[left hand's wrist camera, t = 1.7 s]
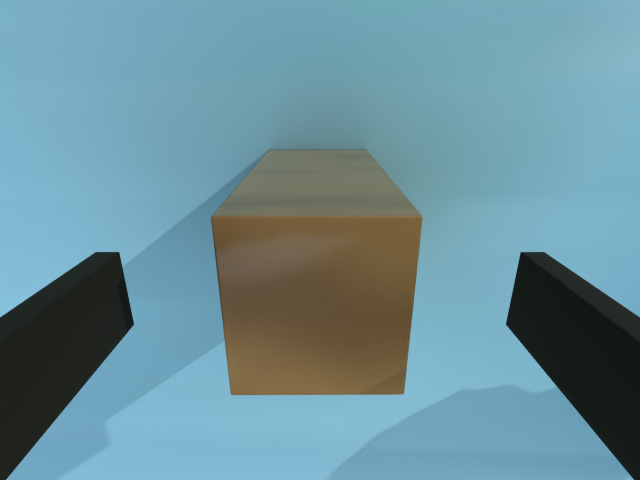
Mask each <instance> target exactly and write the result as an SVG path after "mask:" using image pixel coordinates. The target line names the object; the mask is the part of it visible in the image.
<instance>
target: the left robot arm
mask: <svg viewBox="0 0 640 480" xmlns="http://www.w3.org/2000/svg"><path fill="white" fill-rule="evenodd" d="M133 325H134V322H133V317H132V312H131V307H130V303H129V298H128V293H127V288H126V283H125V278H124V273H123V268H122V263H121V259H120V254H119V252H95V253H94V254H92V255H91V256H90V257H88V258H87V259H85V260H84V261H82V262H81V263H79V264H78V265H76V266H75V267H73V268H72V269H70V270H69V271H68V272H66V273H65V274H63V275H62V276H60V277H59V278H57V279H56V280H54V281H53V282H51V283H50V284H49V285H47V286H46V287H44V288H43V289H41V290H40V291H38V292H37V293H35V294H34V295H32V296H31V297H30V298H28V299H27V300H25V301H24V302H22V303H21V304H19V305H18V306H16V307H15V308H13V309H12V310H10V311H9V312H8V313H6V314H5V315H3V316H2V317H0V480H6V479H7V478H8V477H9V475H10V474H11V473H12V472H13V470H14V469H15V468H16V467H17V466H18V464H19V463H20V462H21V461H22V460H23V458H24V457H25V456H26V455H27V454H28V452H29V451H30V450H31V449H32V447H33V446H34V445H35V444H36V443H37V441H38V440H39V439H40V438H41V437H42V435H43V434H44V433H45V432H46V430H47V429H48V428H49V427H50V426H51V424H52V423H53V422H54V421H55V420H56V418H57V417H58V416H59V415H60V414H61V412H62V411H63V410H64V409H65V407H66V406H67V405H68V404H69V403H70V401H71V400H72V399H73V398H74V397H75V395H76V394H77V393H78V392H79V390H80V389H81V388H82V387H83V386H84V384H85V383H86V382H87V381H88V380H89V378H90V377H91V376H92V375H93V374H94V372H95V371H96V370H97V369H98V367H99V366H100V365H101V364H102V363H103V361H104V360H105V359H106V358H107V357H108V355H109V354H110V353H111V352H112V350H113V349H114V348H115V347H116V346H117V344H118V343H119V342H120V341H121V340H122V338H123V337H124V336H125V335H126V334H127V332H128V331H129V330H130V329H131V327H132V326H133ZM506 325H507V326H508V327H509V329H510V330H511V331H512V332H513V334H514V335H515V336H516V337H517V338H518V340H519V341H520V342H521V343H522V344H523V346H524V347H525V348H526V349H527V350H528V352H529V353H530V354H531V355H532V357H533V358H534V359H535V360H536V361H537V363H538V364H539V365H540V366H541V367H542V369H543V370H544V371H545V372H546V374H547V375H548V376H549V377H550V378H551V380H552V381H553V382H554V383H555V384H556V386H557V387H558V388H559V389H560V390H561V392H562V393H563V394H564V395H565V397H566V398H567V399H568V400H569V401H570V403H571V404H572V405H573V406H574V407H575V409H576V410H577V411H578V412H579V414H580V415H581V416H582V417H583V418H584V420H585V421H586V422H587V423H588V424H589V426H590V427H591V428H592V429H593V430H594V432H595V433H596V434H597V435H598V437H599V438H600V439H601V440H602V441H603V443H604V444H605V445H606V446H607V447H608V449H609V450H610V451H611V452H612V454H613V455H614V456H615V457H616V458H617V460H618V461H619V462H620V463H621V464H622V466H623V467H624V468H625V469H626V470H627V472H628V473H629V474H630V475H631V477H632V478H633V479H634V480H640V317H638V316H637V315H635V314H634V313H632V312H631V311H630V310H628V309H627V308H625V307H624V306H622V305H621V304H619V303H618V302H616V301H615V300H613V299H612V298H610V297H609V296H608V295H606V294H605V293H603V292H602V291H600V290H599V289H597V288H596V287H594V286H593V285H591V284H590V283H589V282H587V281H586V280H584V279H583V278H581V277H580V276H578V275H577V274H575V273H574V272H572V271H571V270H570V269H568V268H567V267H565V266H564V265H562V264H561V263H559V262H558V261H556V260H555V259H553V258H552V257H550V256H549V255H548V254H546V253H545V252H521V254H520V259H519V263H518V268H517V273H516V278H515V283H514V288H513V293H512V298H511V303H510V307H509V312H508V317H507V322H506Z"/></svg>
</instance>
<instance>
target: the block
mask: <svg viewBox="0 0 640 480" xmlns="http://www.w3.org/2000/svg"><path fill="white" fill-rule="evenodd" d="M211 222H212V231H213V239H214V248H215V257H216V266H217V275H218V284H219V293H220V302H221V311H222V320H223V329H224V338H225V347H226V356H227V364H228V373H229V382H230V391H231V395H388V394H404V388H405V379H406V369H407V360H408V350H409V341H410V331H411V322H412V312H413V303H414V293H415V284H416V274H417V265H418V255H419V246H420V236H421V227H422V215H421V214H420V213H419V212H418V211H417V209H416V208H415V207H414V206H413V205H412V203H411V202H410V201H409V200H408V199H407V197H406V196H405V195H404V194H403V193H402V191H401V190H400V189H399V188H398V187H397V186H396V184H395V183H394V182H393V181H392V180H391V178H390V177H389V176H388V175H387V174H386V172H385V171H384V170H383V169H382V168H381V166H380V165H379V164H378V163H377V162H376V160H375V159H374V158H373V157H372V156H371V155H370V153H369V152H368V151H367V150H268V151H267V153H266V154H265V155H264V156H263V157H262V158H261V159H260V161H259V162H258V163H257V164H256V165H255V166H254V168H253V169H252V170H251V171H250V172H249V173H248V175H247V176H246V177H245V178H244V179H243V180H242V181H241V183H240V184H239V185H238V186H237V187H236V188H235V190H234V191H233V192H232V193H231V194H230V195H229V197H228V198H227V199H226V200H225V201H224V202H223V203H222V205H221V206H220V207H219V208H218V209H217V210H216V212H215V213H214V214H213V215H212V216H211Z"/></svg>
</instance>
